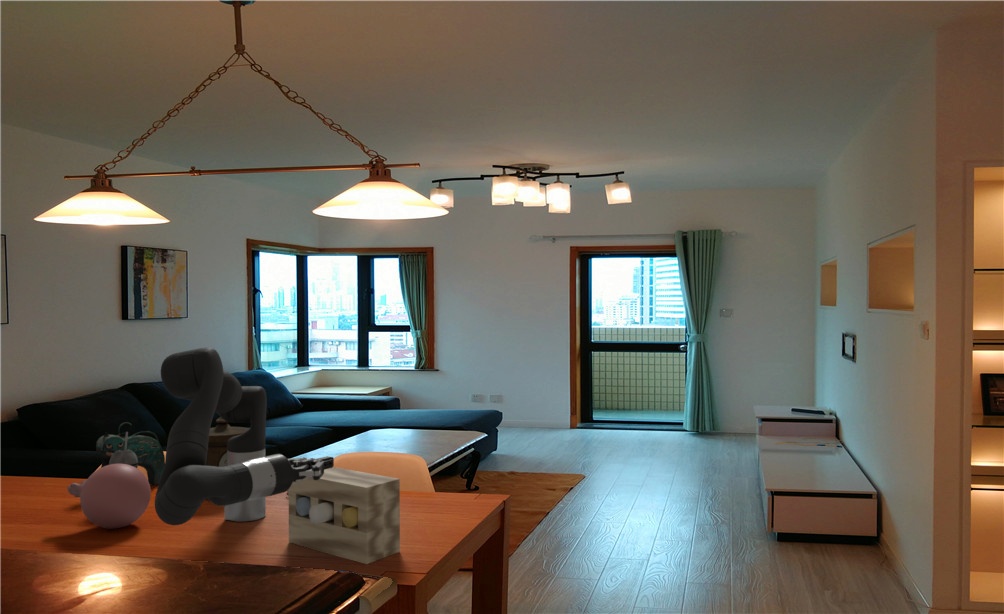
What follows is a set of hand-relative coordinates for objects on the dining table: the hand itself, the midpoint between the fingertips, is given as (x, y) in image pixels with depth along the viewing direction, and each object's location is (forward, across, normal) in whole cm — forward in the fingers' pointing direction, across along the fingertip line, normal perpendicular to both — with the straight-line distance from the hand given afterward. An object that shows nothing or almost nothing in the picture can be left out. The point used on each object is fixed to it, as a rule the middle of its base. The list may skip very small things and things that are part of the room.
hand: (331, 461), depth 163 cm
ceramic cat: (+11, +98, +22) cm, 101 cm away
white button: (+4, +7, +15) cm, 17 cm away
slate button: (+7, +15, +15) cm, 22 cm away
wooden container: (+24, +72, +22) cm, 79 cm away
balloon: (-13, +66, +22) cm, 70 cm away
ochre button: (+7, 0, +15) cm, 16 cm away
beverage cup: (-1, +80, +22) cm, 83 cm away
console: (+10, +7, +22) cm, 25 cm away
